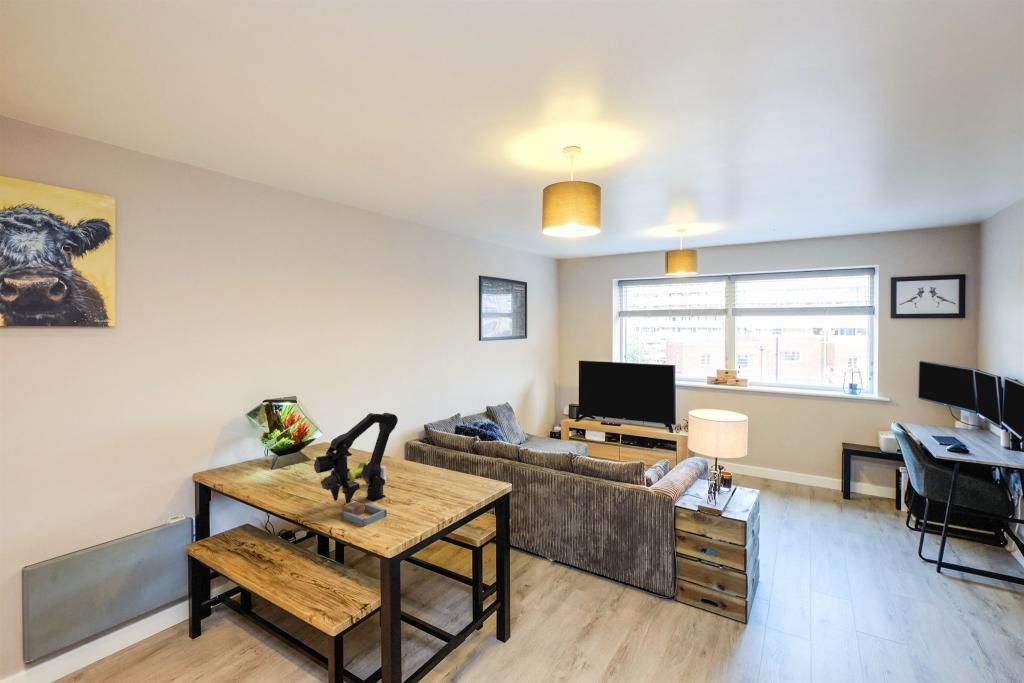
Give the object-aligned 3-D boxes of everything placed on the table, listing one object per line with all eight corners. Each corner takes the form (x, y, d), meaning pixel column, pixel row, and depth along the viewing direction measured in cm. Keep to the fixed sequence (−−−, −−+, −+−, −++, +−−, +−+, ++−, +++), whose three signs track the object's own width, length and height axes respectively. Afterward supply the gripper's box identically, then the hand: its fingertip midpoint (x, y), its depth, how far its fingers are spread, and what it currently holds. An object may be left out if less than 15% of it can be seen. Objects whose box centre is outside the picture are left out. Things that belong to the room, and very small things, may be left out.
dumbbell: (351, 485, 230) (350, 471, 229) (339, 483, 233) (338, 469, 233) (373, 474, 245) (373, 461, 244) (361, 473, 248) (361, 459, 248)
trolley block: (354, 509, 201) (353, 500, 200) (364, 513, 196) (363, 503, 196) (341, 514, 196) (341, 504, 196) (351, 518, 192) (351, 508, 191)
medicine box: (386, 482, 233) (385, 465, 233) (384, 485, 229) (383, 468, 229) (370, 482, 233) (369, 465, 233) (368, 485, 229) (367, 468, 228)
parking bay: (366, 508, 201) (366, 503, 201) (386, 515, 193) (386, 510, 193) (343, 518, 192) (343, 512, 191) (364, 526, 184) (363, 520, 184)
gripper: (311, 468, 200) (312, 504, 200) (336, 477, 189) (337, 514, 189) (334, 461, 209) (335, 495, 209) (359, 469, 198) (360, 505, 198)
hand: (341, 502), depth 201 cm, fingers open, 8 cm apart
